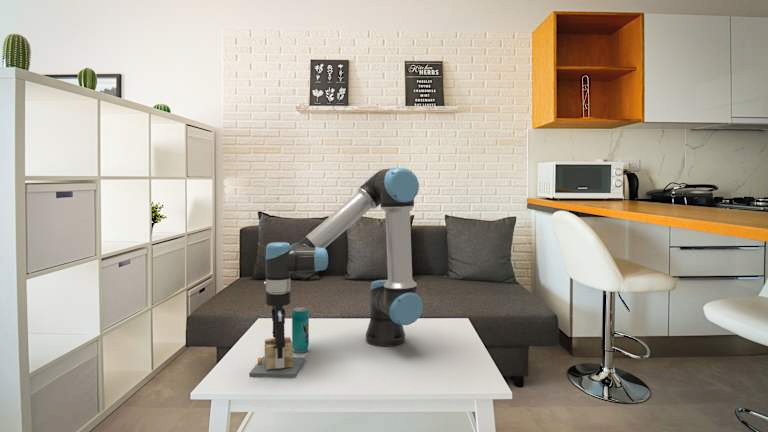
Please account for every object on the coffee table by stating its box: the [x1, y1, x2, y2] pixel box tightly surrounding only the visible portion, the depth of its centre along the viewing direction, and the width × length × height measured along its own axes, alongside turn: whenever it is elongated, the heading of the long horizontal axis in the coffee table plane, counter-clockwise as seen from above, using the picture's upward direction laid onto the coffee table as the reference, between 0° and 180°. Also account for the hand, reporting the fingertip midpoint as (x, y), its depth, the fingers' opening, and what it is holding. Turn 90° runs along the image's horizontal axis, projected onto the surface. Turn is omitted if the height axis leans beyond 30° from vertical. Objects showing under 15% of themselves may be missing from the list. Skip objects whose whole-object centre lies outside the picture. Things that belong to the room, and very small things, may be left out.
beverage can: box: [291, 306, 310, 354], centre depth 160 cm, size 6×6×15 cm
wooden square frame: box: [264, 336, 294, 369], centre depth 143 cm, size 8×8×7 cm
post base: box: [248, 356, 306, 379], centre depth 144 cm, size 14×14×7 cm
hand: (278, 362), depth 144 cm, fingers closed on wooden square frame, 8 cm apart
